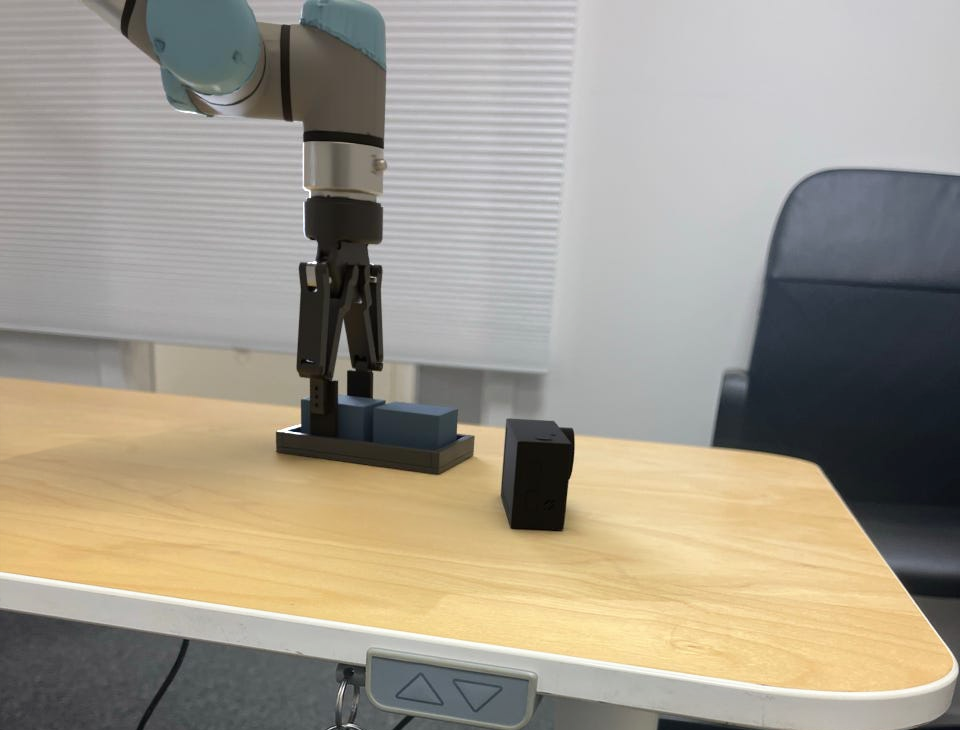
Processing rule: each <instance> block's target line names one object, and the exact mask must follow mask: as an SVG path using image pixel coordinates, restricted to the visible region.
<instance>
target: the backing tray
mask: <svg viewBox="0 0 960 730" xmlns="http://www.w3.org/2000/svg"><path fill="white" fill-rule="evenodd" d="M475 437H476V436H475V435H474V434H473V435H471V434H466V433H465V434H464V433H457V440H456V441H454V442H452V443H450V444H448V445H446V446H443V447H441V448H439V449H437V450H435V451H434V450H426V449H418V448H411V447H403V446H396V445H388V444H380V443H373V442H365V441H358V440H350V439H342V438H335V437H327V436H319V435H312V434H304V433H301V423H300V424H296V425H294V426H290V427H286V428H283V429H280V430H276V431H275V453H279V454H287V455H295V456H301V457H310V458H318V459H322V460H323V459H324V460H330V461H331V460H333V461H339V462H346V463H352V464H360V465H368V466H374V467H381V468H389V469H396V470H403V471H410V472H418V473H425V474H433V475H440V474H442V473H443V472H445V471H447V470H450V469H451V468H453V467H455V466H457V465H459V464H460V463H462V462H463V461H466V460H467V459H470V458H471V457H473V456H474V455H475V453H474V452H475Z"/></svg>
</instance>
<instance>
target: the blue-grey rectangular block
mask: <svg viewBox="0 0 960 730" xmlns="http://www.w3.org/2000/svg"><path fill="white" fill-rule="evenodd" d="M386 402H387V401H386V400H385V399H380V398H373V399H372V398H363V397H355V396H347V394H346V395H345V394H338V438H342V439H350V440H358V441H365V442H373V410H374V408H376V407H379V406H382V405H385V404H387V403H386ZM300 424H301V433H304V434H310V396H308V397H304V398H301V399H300Z"/></svg>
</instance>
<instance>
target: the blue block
mask: <svg viewBox="0 0 960 730" xmlns="http://www.w3.org/2000/svg"><path fill="white" fill-rule="evenodd" d="M458 416H459V409H458V408H456V407H448V406H439V405H431V404H423V403H422V404H421V403H414V402H406V401H397V400H395V401H392V402H388V403H386V404H385V405H382V406H379V407H376V408H374V410H373V443H380V444H388V445H396V446H403V447H411V448H418V449H426V450H434V451H435V450H437V449H439V448H441V447H443V446H446V445H448V444H450V443H452V442H454V441H456V440H457V434H458V421H459V420H458Z"/></svg>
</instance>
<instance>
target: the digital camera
mask: <svg viewBox="0 0 960 730" xmlns="http://www.w3.org/2000/svg"><path fill="white" fill-rule="evenodd" d="M503 446H504V447H503V456H502V457H503V458H502V471H501V484H500V499H501V501H502V505H503V508H504V511H505V514H506V517H507V520H508V524H509V527H510V528H511V529H527V530H551V531H552V530H553V531H563V530H564V529H565V522H566V521H565V520H566V510H567V500H568V491H569V481H570V479H571V477H572V473H573V470H574V469H573V468H574V464H575V463H574V462H575V448H576V447H575V446H576V441H575V431H574V428H573V427H566V426H565V427H563V426H562V427H561V426H559V425H558V424H557V422H556V421H554V420H545V419H526V418H511V417H510V418H506V419H505V430H504V444H503Z"/></svg>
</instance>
